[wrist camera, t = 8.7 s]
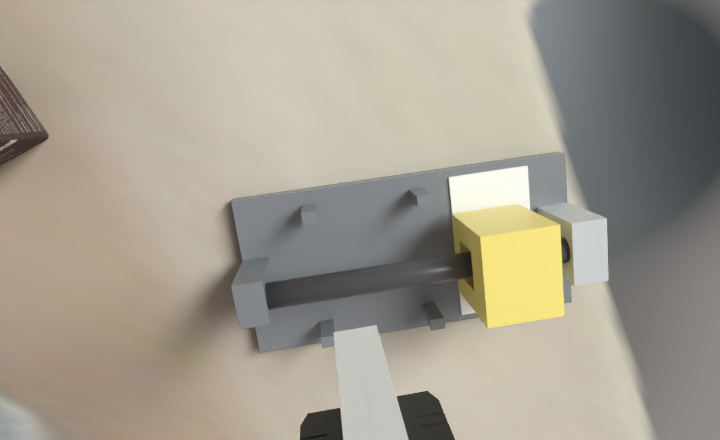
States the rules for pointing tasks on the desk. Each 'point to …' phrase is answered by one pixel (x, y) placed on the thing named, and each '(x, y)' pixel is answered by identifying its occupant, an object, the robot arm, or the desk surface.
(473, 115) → the desk surface
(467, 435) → the desk surface
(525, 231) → the sleeve
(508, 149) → the desk surface
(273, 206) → the gray rail plate
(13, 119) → the box
